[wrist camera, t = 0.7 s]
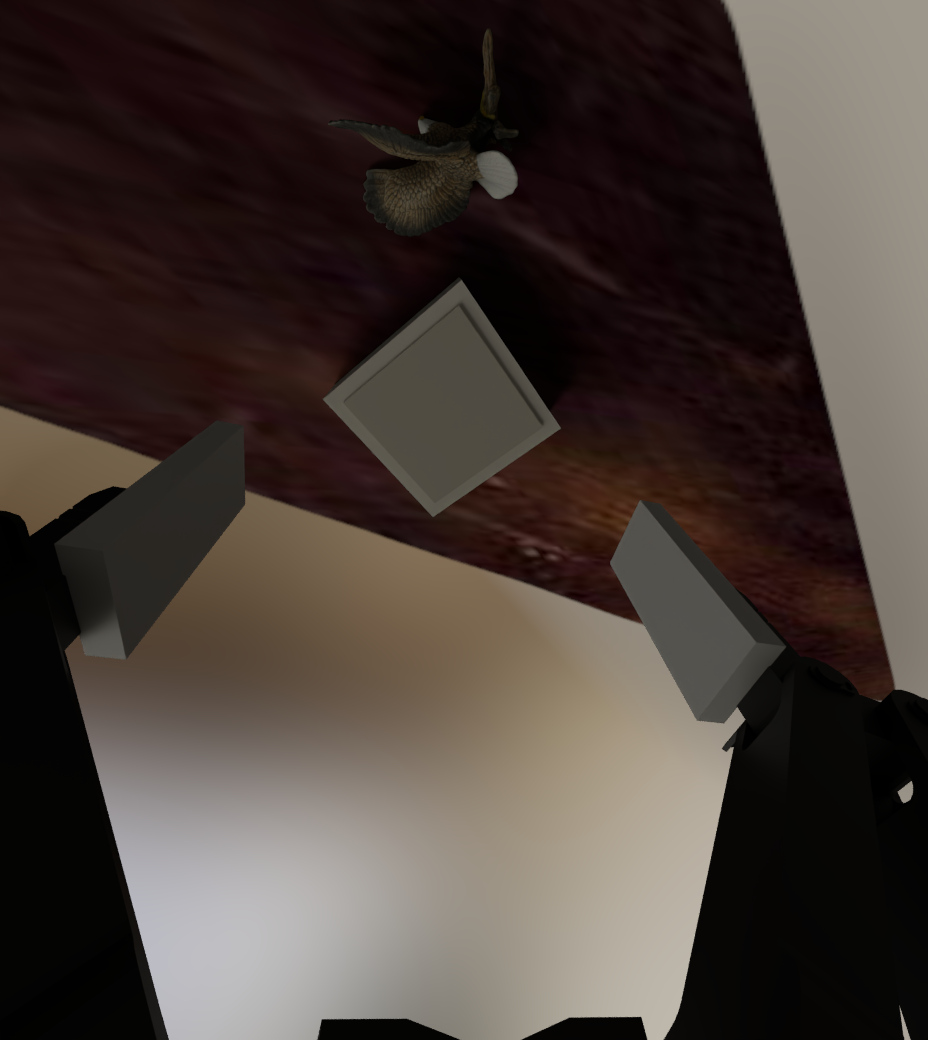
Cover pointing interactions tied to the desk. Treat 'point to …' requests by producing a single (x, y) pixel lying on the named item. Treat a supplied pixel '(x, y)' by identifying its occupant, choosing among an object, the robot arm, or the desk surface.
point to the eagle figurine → (439, 163)
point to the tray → (443, 401)
